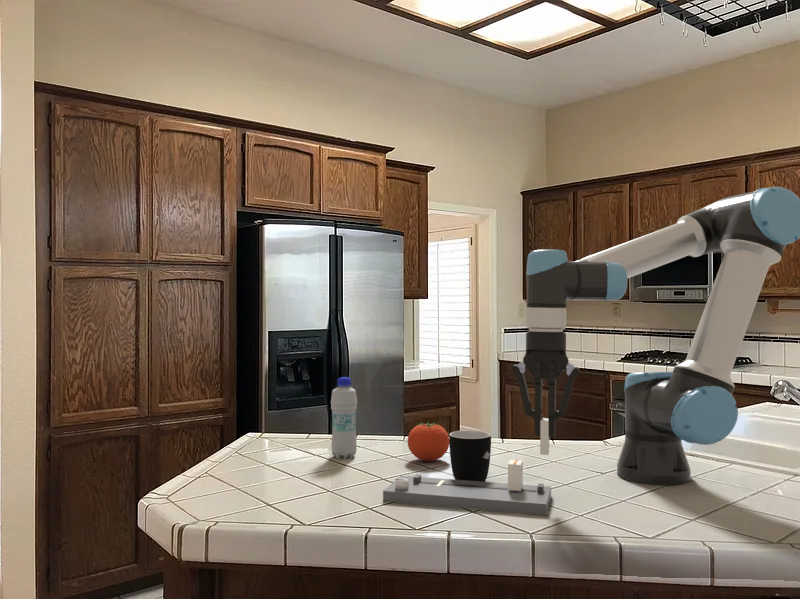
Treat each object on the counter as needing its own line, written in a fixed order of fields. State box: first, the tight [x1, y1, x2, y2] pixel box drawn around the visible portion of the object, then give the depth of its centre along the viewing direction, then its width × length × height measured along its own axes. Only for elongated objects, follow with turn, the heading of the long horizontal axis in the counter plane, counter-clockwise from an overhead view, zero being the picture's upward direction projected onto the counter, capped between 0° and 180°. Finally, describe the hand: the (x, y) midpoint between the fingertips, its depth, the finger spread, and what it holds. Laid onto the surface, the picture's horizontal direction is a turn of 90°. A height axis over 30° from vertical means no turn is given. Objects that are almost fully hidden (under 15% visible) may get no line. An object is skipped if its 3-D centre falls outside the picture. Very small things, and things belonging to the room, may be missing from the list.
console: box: [382, 474, 552, 516], centre depth 130 cm, size 31×12×4 cm, turn 73°
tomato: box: [407, 419, 450, 462], centre depth 162 cm, size 10×10×10 cm
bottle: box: [330, 376, 358, 460], centre depth 166 cm, size 7×7×20 cm
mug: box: [448, 429, 492, 482], centre depth 144 cm, size 12×9×10 cm
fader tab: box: [507, 458, 524, 491], centre depth 129 cm, size 2×4×5 cm, turn 163°
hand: (544, 453), depth 127 cm, fingers closed
